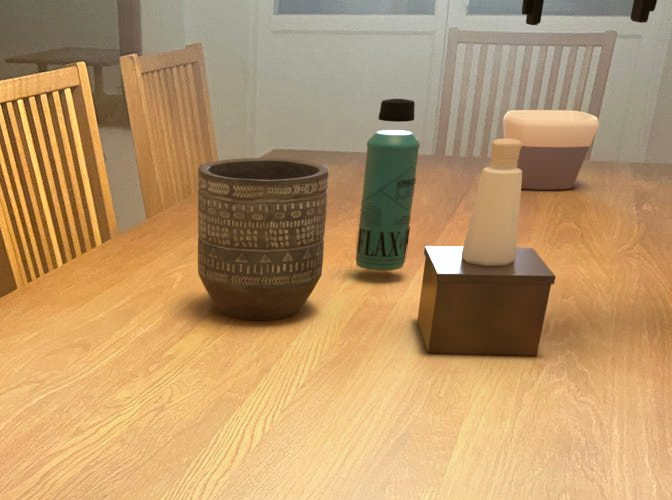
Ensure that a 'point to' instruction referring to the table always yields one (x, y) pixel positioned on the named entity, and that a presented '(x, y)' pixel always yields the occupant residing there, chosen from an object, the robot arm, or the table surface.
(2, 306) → the table surface
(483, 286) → the walnut box
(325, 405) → the table surface
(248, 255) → the planter
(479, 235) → the cream bottle
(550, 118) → the bowl
